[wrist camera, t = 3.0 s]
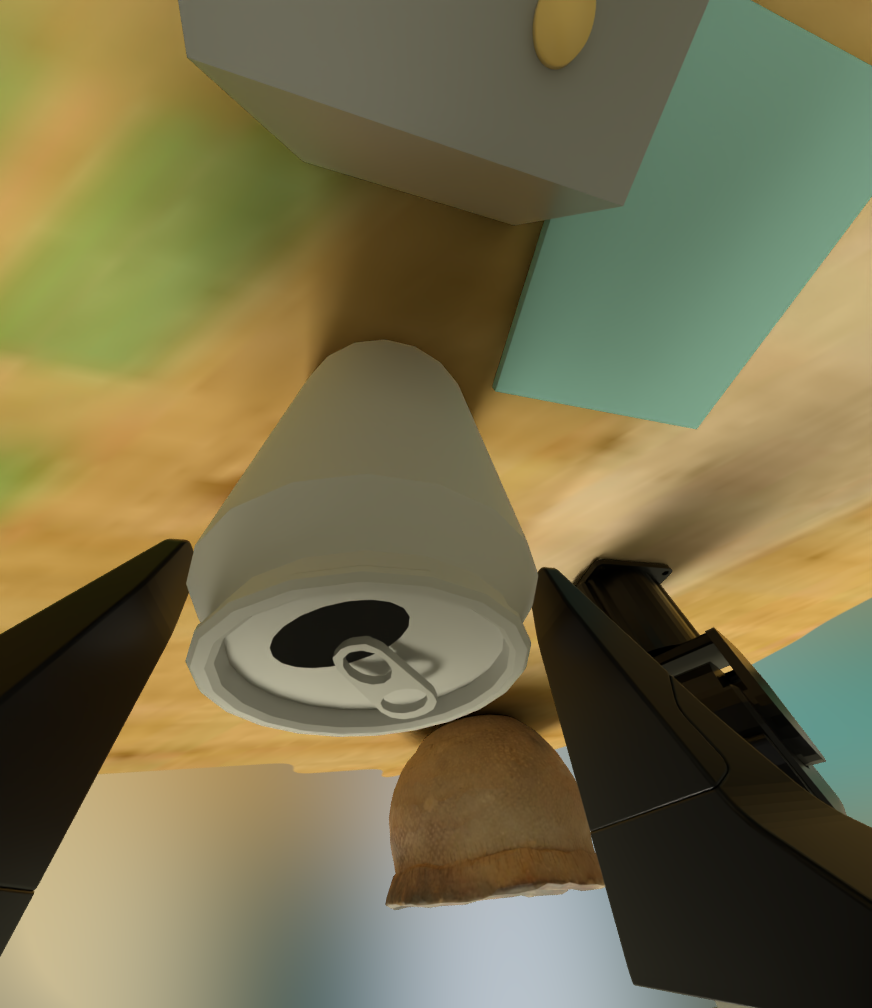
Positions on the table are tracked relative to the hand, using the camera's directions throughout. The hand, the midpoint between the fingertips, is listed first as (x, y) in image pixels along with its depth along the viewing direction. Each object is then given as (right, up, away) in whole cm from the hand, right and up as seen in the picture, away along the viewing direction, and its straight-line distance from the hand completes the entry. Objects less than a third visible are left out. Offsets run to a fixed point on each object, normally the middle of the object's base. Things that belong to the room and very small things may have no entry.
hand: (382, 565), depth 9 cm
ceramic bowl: (+6, -28, +35) cm, 45 cm away
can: (-1, +6, +7) cm, 9 cm away
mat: (+10, +11, +4) cm, 16 cm away
